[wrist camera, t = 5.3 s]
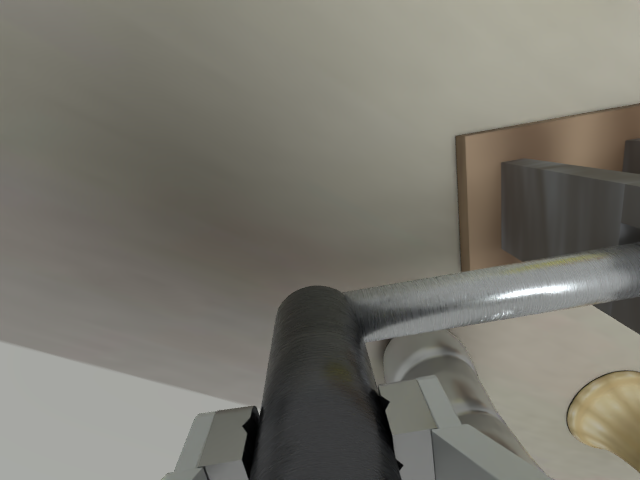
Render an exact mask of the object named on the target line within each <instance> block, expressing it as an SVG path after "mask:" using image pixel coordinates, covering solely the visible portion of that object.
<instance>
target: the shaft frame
mask: <svg viewBox="0 0 640 480" xmlns="http://www.w3.org/2000/svg"><path fill="white" fill-rule="evenodd" d="M456 159H457V181H458V204H459V226H460V249H461V272H466V271H472V270H478V269H484V268H489V267H495V266H501V265H507V264H513V263H519V262H525V261H531V260H537V259H542V258H548V257H554V256H560V255H566V254H572V253H578V252H584V251H589V250H595V249H601V248H607V247H613V246H619V245H625V244H631V243H637V242H640V103H639V104H633V105H628V106H622V107H616V108H611V109H605V110H600V111H594V112H588V113H583V114H577V115H571V116H566V117H560V118H554V119H549V120H543V121H537V122H532V123H526V124H521V125H515V126H509V127H504V128H498V129H492V130H487V131H481V132H475V133H470V134H464V135H458V136H456ZM593 306H595V307H596V308H598V309H600V310H601V311H603V312H604V313H606V314H608V315H609V316H611V317H613V318H614V319H616V320H617V321H619V322H621V323H622V324H624V325H625V326H627V327H629V328H630V329H632V330H633V331H635V332H637V333H638V334H640V297H635V298H629V299H623V300H617V301H611V302H605V303H599V304H593Z"/></svg>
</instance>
